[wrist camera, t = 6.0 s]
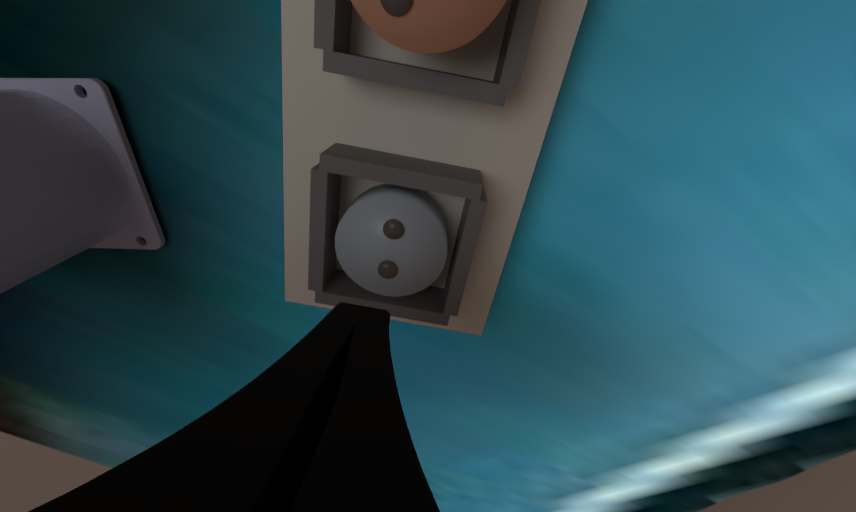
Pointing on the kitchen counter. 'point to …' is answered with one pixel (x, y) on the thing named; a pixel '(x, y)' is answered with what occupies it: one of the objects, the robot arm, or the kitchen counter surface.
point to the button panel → (415, 144)
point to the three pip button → (428, 22)
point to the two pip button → (392, 240)
